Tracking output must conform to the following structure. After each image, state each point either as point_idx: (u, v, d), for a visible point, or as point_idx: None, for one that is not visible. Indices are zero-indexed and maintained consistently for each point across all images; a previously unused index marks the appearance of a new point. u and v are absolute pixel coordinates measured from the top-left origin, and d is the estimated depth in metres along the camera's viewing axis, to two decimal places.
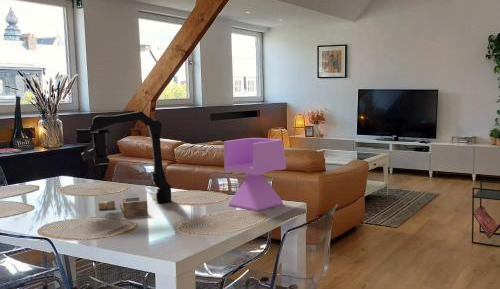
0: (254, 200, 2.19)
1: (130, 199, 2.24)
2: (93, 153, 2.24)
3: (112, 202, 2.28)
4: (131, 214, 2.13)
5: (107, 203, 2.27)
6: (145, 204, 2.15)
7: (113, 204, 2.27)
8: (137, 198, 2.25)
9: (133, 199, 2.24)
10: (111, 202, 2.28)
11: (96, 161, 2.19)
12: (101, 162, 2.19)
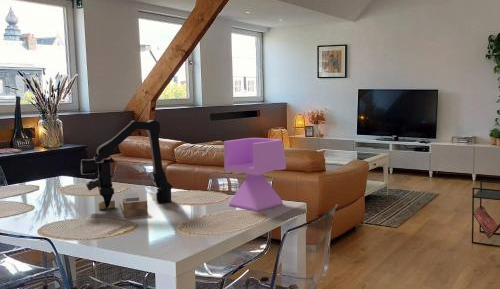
0: (254, 200, 2.19)
1: (130, 199, 2.24)
2: (98, 183, 2.23)
3: (112, 202, 2.28)
4: (131, 214, 2.13)
5: None
6: (145, 204, 2.15)
7: (113, 204, 2.27)
8: (137, 198, 2.25)
9: (133, 199, 2.24)
10: (111, 202, 2.28)
11: (101, 192, 2.18)
12: (106, 193, 2.18)
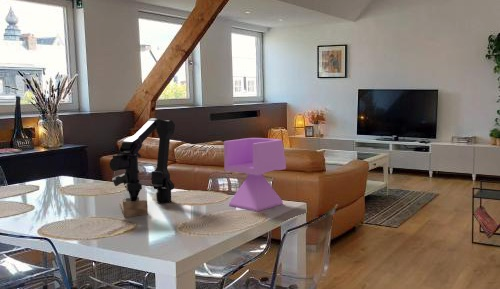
0: (254, 200, 2.19)
1: (130, 199, 2.24)
2: (125, 179, 2.16)
3: None
4: (131, 214, 2.13)
5: None
6: (145, 204, 2.15)
7: None
8: (137, 198, 2.25)
9: None
10: None
11: (129, 187, 2.11)
12: (134, 188, 2.12)
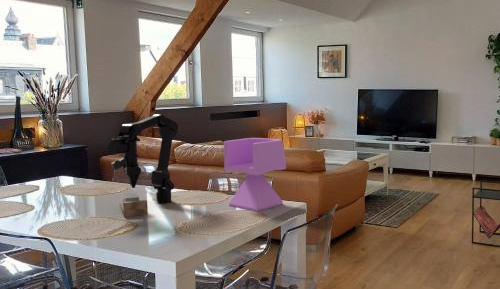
0: (254, 200, 2.19)
1: (130, 199, 2.24)
2: (124, 163, 2.17)
3: None
4: (131, 214, 2.13)
5: None
6: (145, 204, 2.15)
7: None
8: (137, 198, 2.25)
9: (133, 199, 2.25)
10: None
11: (128, 171, 2.12)
12: (133, 172, 2.13)
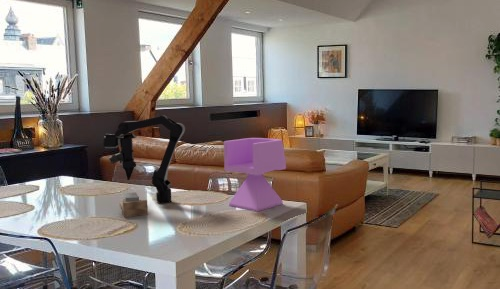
0: (254, 200, 2.19)
1: (130, 199, 2.24)
2: (120, 157, 2.35)
3: None
4: (131, 214, 2.13)
5: None
6: (145, 204, 2.15)
7: None
8: (137, 198, 2.25)
9: (133, 199, 2.25)
10: None
11: (124, 165, 2.29)
12: (128, 166, 2.30)
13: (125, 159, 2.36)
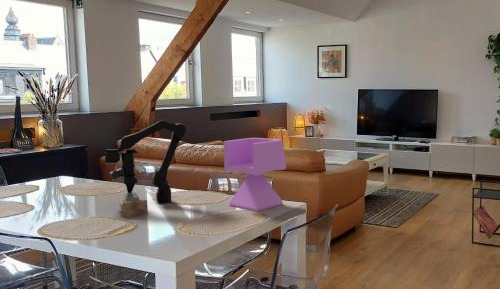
0: (254, 200, 2.19)
1: (130, 199, 2.24)
2: (121, 172, 2.31)
3: None
4: (131, 214, 2.13)
5: None
6: (145, 204, 2.15)
7: None
8: (137, 198, 2.25)
9: (133, 199, 2.24)
10: None
11: (125, 181, 2.26)
12: (130, 182, 2.27)
13: (126, 174, 2.32)
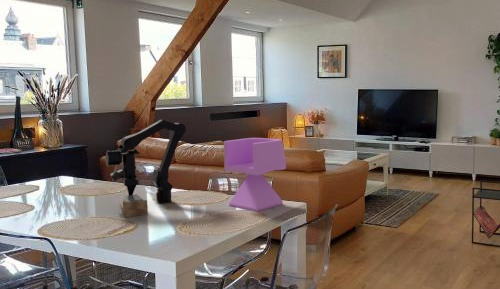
0: (254, 200, 2.19)
1: None
2: (122, 174, 2.27)
3: None
4: (131, 214, 2.13)
5: None
6: (145, 204, 2.15)
7: None
8: None
9: None
10: None
11: (126, 183, 2.21)
12: (131, 184, 2.22)
13: (127, 176, 2.27)
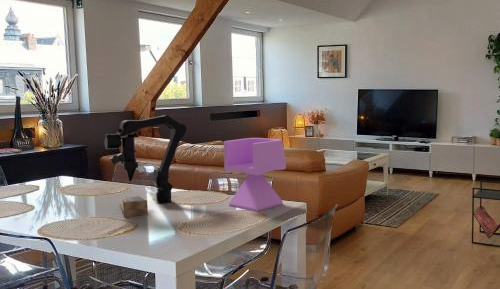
0: (254, 200, 2.19)
1: None
2: (122, 157, 2.26)
3: None
4: (131, 214, 2.13)
5: None
6: (145, 204, 2.15)
7: None
8: None
9: None
10: None
11: (125, 165, 2.20)
12: (130, 166, 2.21)
13: (127, 159, 2.27)
